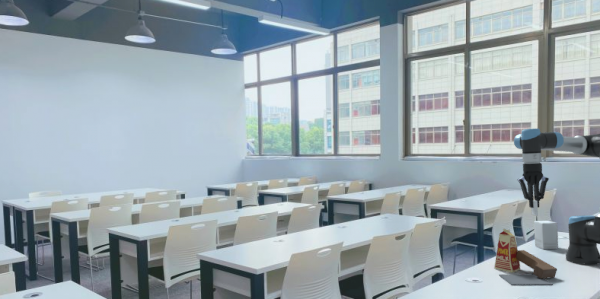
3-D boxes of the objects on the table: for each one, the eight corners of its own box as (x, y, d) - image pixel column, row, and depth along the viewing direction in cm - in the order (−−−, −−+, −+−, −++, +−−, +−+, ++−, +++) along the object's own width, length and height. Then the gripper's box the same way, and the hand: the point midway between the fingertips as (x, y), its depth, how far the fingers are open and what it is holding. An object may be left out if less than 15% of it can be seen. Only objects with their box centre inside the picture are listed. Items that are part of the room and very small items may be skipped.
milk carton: (512, 272, 199) (511, 230, 199) (493, 268, 206) (492, 228, 206) (521, 268, 205) (520, 227, 205) (502, 265, 212) (501, 225, 212)
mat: (537, 275, 194) (537, 274, 194) (552, 285, 180) (552, 283, 180) (499, 275, 195) (499, 274, 195) (511, 285, 181) (511, 284, 181)
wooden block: (543, 269, 185) (510, 250, 201) (541, 279, 186) (508, 259, 202) (557, 268, 189) (524, 249, 205) (554, 277, 190) (521, 258, 206)
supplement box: (559, 249, 240) (558, 222, 240) (543, 249, 240) (542, 223, 240) (549, 245, 249) (548, 220, 249) (534, 246, 249) (533, 220, 249)
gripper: (520, 163, 187) (523, 216, 187) (551, 162, 186) (554, 215, 186) (513, 163, 195) (516, 214, 195) (542, 161, 194) (545, 213, 194)
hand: (534, 214), depth 191 cm, fingers closed
